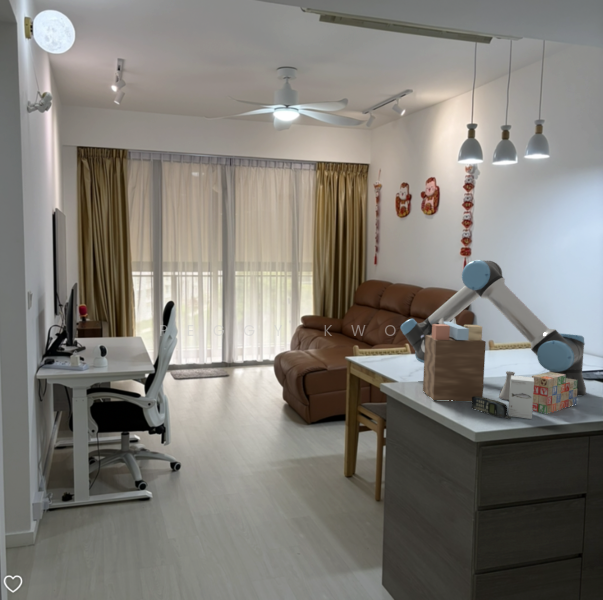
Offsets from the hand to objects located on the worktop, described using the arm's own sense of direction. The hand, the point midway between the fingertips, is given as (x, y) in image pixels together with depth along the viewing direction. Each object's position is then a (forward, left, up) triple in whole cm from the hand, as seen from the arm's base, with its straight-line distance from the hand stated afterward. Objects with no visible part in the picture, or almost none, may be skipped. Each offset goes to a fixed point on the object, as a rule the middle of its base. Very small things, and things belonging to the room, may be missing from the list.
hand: (448, 321), depth 215 cm
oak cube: (-11, +2, -5) cm, 12 cm away
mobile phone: (-26, +15, -28) cm, 41 cm away
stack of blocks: (-37, -11, -28) cm, 47 cm away
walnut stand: (-6, +5, -27) cm, 28 cm away
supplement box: (-34, +9, -28) cm, 44 cm away
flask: (-21, -10, -28) cm, 36 cm away
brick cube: (-3, +11, -5) cm, 12 cm away
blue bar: (-4, +4, -5) cm, 7 cm away
